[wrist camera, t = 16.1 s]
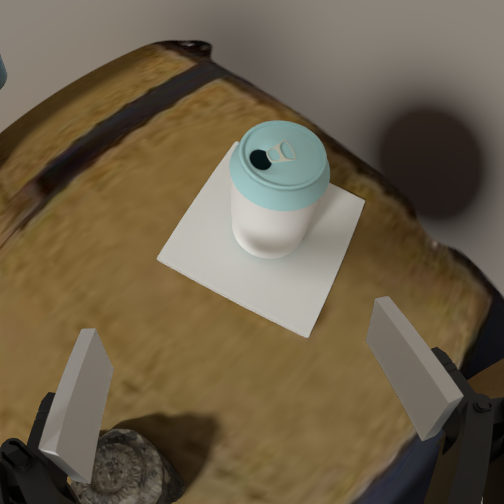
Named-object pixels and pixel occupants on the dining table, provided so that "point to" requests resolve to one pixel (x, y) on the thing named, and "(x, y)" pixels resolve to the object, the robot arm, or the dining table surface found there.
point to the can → (276, 187)
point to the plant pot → (489, 381)
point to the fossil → (129, 472)
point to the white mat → (261, 269)
